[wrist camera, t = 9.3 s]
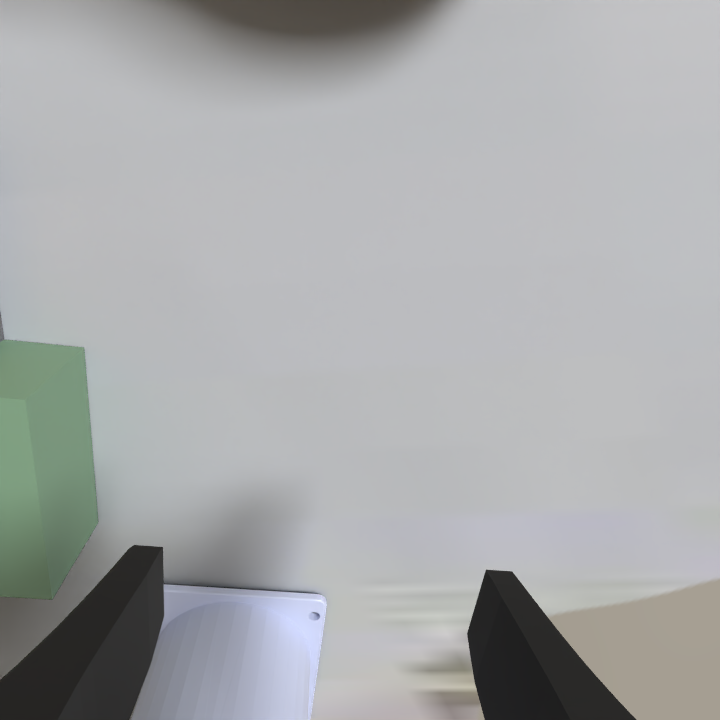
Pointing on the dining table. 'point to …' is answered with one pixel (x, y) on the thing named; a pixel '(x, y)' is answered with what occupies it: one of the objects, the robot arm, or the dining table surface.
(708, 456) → the dining table surface
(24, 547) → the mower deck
